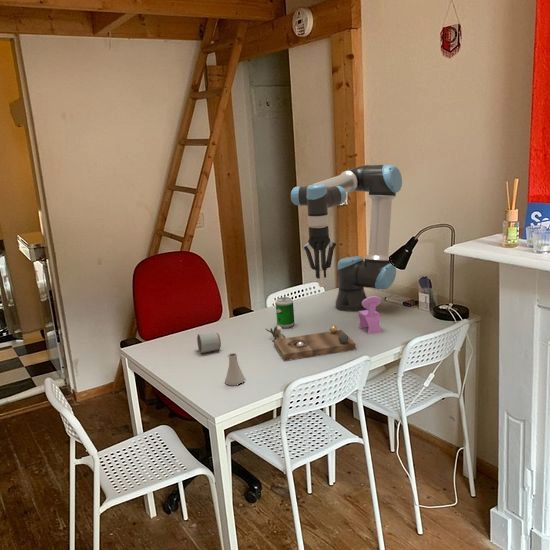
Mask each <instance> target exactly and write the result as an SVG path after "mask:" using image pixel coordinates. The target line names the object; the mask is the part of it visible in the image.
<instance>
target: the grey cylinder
mask: <svg viewBox="0 0 550 550" xmlns="http://www.w3.org/2000/svg"><path fill="white" fill-rule="evenodd" d="M196 341H197V343H196V344H197V348H198V351H199V353H200V354H205V353H211V352H214V351H218V350H220V349H221V346H222V341H221V336H220V334H219V333H218V332H217V331H212V332H204V333H198V334H197V337H196Z"/></svg>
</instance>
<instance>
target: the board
mask: <svg viewBox="0 0 550 550" xmlns="http://www.w3.org/2000/svg"><path fill="white" fill-rule="evenodd" d="M342 333H345V332H344V330H342V329H337V332H336V333H331V332H330V331H325V332H319V333H318V332H317V333H311V334H304V335H297V336H292V337H291V336H290V337H285V338H283V339H278V338H275V340H274V341H273V346H274V348H275V349H276V351H277V353H278V354H279V353H280V354H279V355H280V357H281V358H282V360H283V359H284V360H286V361H291V360H290V359H292V360H297V359H296V358H299V359H303V358H311V357H317V355H318V356H323V355H330V353H331V354H336V353H341V352H343V353H344V352H349V350H350V351H355V350H354V349H356V348H357V347H356V346H357V345H356V342H355V341H354V340H353V339H352V338H351V337H350V336H348V341H347V342H346V343H341V342H340V341H339V339H338V337H339V335H340V334H342ZM298 342H303V343H304V345H302V346H296V344H297V343H298ZM356 350H357V349H356ZM284 360H283V361H284Z"/></svg>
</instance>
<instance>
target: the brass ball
mask: <svg viewBox="0 0 550 550" xmlns="http://www.w3.org/2000/svg"><path fill="white" fill-rule="evenodd" d="M337 330H338V327H337V326H336V325H331V326H330V328H329V332H331V333H336V332H337Z"/></svg>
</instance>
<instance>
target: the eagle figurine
mask: <svg viewBox="0 0 550 550" xmlns="http://www.w3.org/2000/svg"><path fill="white" fill-rule="evenodd" d="M265 330H266V331H267V332H269V333H270V334H272V339H271V342H273V343H274V340H276V339H283V338H286V336H285V335H284V334H283V328H281V327H280V326H278V325H277V326H274V329H273V328H272V327H270V329H268V328H265Z"/></svg>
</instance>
